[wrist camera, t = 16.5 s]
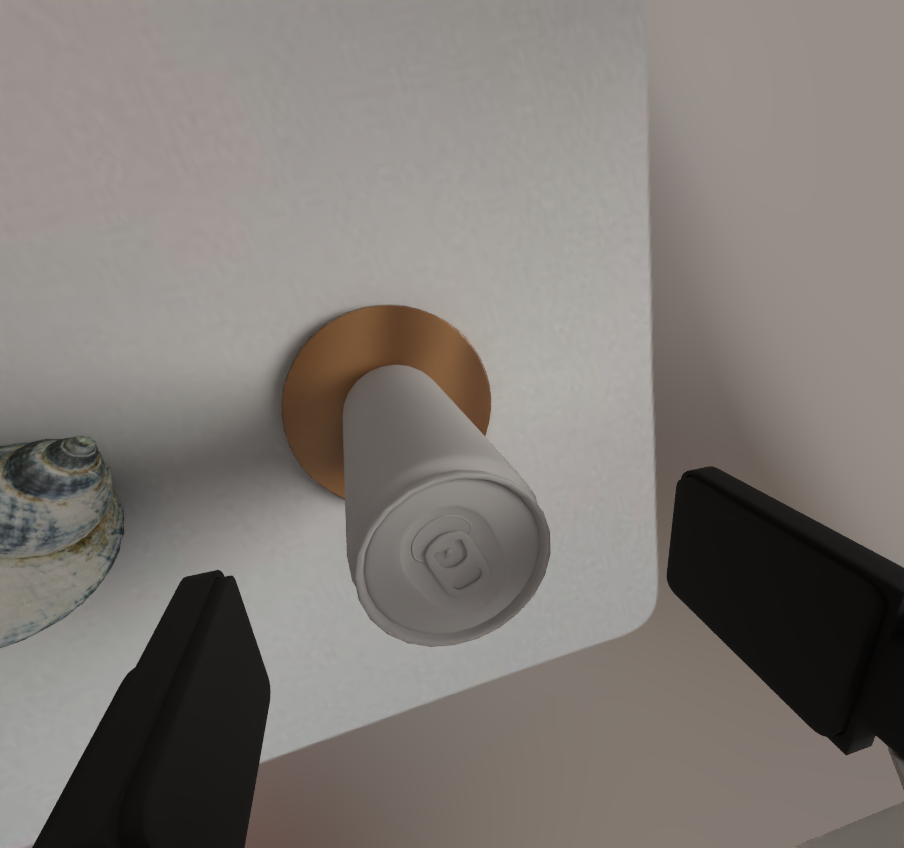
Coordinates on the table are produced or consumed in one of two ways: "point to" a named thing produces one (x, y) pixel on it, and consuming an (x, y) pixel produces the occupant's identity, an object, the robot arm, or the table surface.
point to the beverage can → (434, 514)
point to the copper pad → (360, 351)
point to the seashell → (53, 531)
